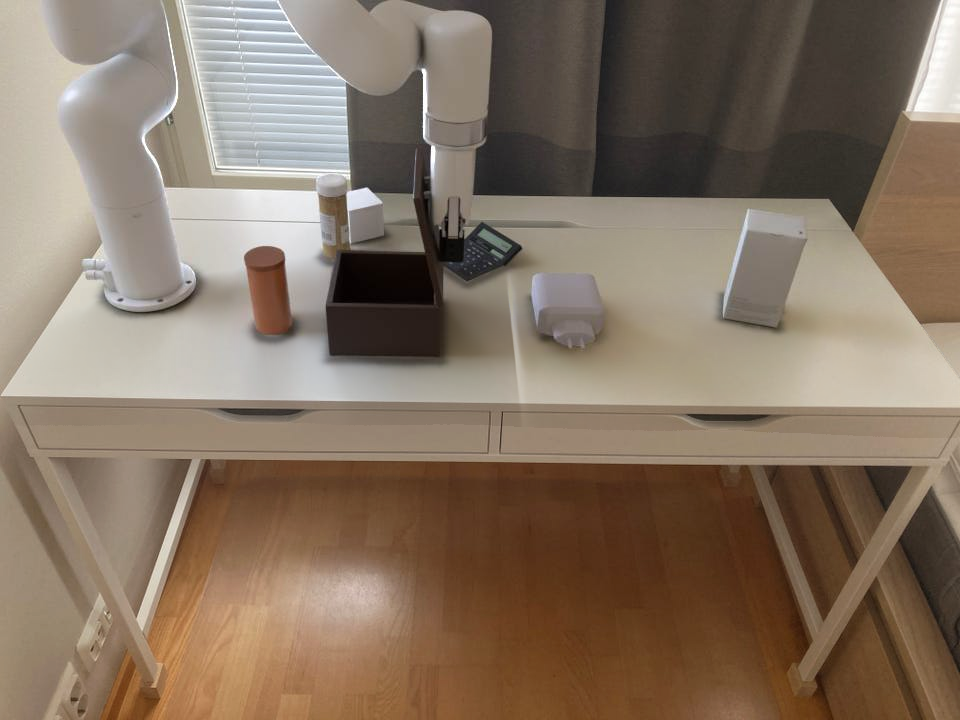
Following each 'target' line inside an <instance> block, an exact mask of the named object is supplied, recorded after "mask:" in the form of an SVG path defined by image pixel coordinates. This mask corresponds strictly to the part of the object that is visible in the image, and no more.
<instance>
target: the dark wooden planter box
mask: <svg viewBox="0 0 960 720" xmlns="http://www.w3.org/2000/svg"><path fill="white" fill-rule="evenodd" d="M325 318H326V329H327V338H328V339H327V341H328V352H329V356H351V357H352V356H354V357H355V356H356V357H407V358H410V357H411V358H413V357H414V358H440V336H441V335H440V334H441V305H440V306H437V302H436V298H435V293H434V289H433V285H432V280H431V276H430V271H429V267H428V263H427V258H426V254H425V251H401V250H400V251H399V250H398V251H397V250H396V251H393V250H360V249H359V250H358V249H350V250H336V254H335V259H334V261H333V265H332V271H331V275H330V281H329V285H328V291H327V296H326V300H325Z"/></svg>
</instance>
